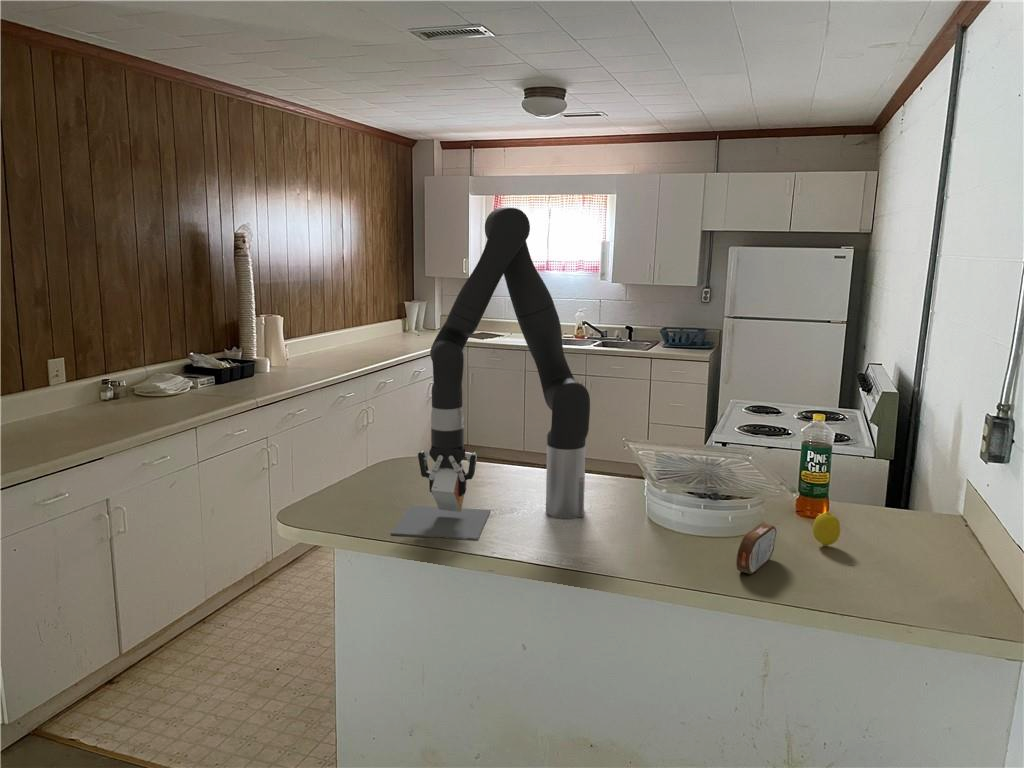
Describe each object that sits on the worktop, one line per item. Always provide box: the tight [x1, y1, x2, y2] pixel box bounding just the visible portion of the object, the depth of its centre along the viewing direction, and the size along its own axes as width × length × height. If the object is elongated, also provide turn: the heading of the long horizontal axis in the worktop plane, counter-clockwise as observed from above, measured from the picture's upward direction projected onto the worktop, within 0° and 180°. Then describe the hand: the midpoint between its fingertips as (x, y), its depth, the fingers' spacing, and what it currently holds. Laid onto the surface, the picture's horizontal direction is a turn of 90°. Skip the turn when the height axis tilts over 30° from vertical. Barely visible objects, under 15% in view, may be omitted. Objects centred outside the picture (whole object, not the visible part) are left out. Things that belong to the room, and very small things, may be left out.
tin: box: [735, 521, 777, 575], centre depth 156 cm, size 15×3×8 cm, turn 141°
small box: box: [431, 462, 467, 512], centre depth 180 cm, size 8×6×10 cm
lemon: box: [812, 511, 841, 547], centre depth 166 cm, size 6×6×8 cm
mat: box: [390, 505, 491, 540], centre depth 179 cm, size 20×18×1 cm
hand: (448, 494), depth 179 cm, fingers closed on small box, 6 cm apart
